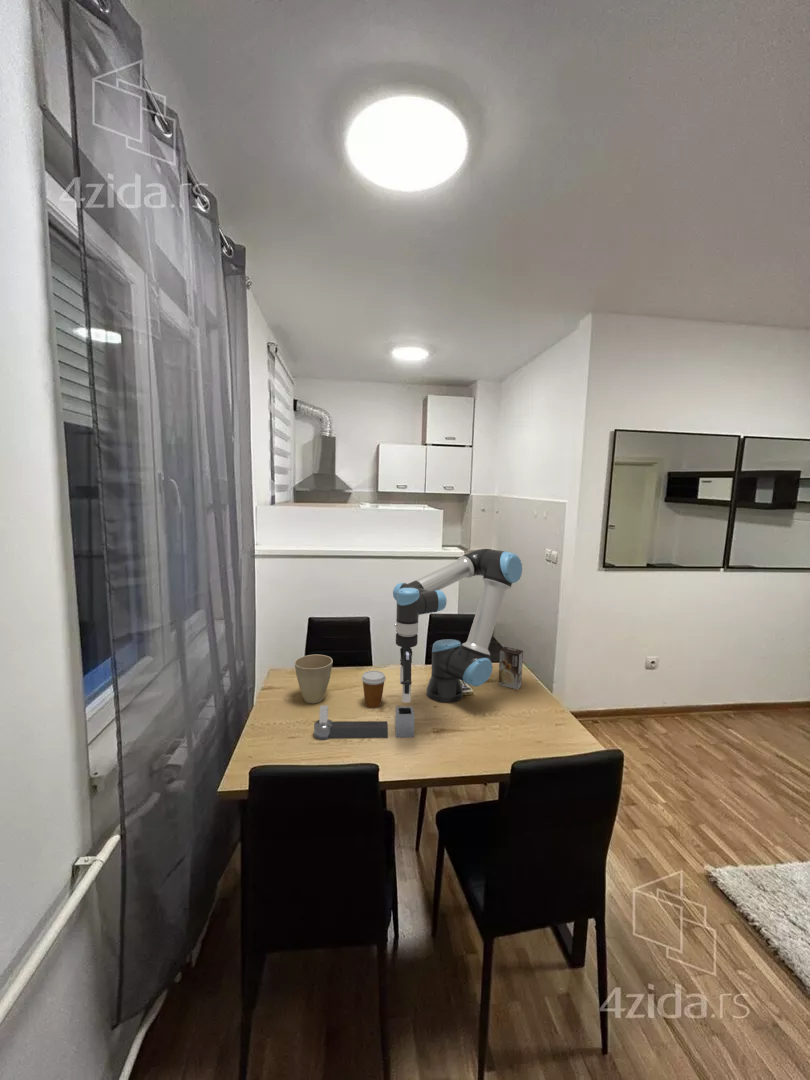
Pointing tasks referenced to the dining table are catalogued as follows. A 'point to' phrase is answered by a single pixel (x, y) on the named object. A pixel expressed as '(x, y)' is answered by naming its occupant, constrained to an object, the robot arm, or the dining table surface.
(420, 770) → the dining table surface
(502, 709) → the dining table surface
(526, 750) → the dining table surface
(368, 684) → the disposable coffee cup
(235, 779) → the dining table surface
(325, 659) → the plant pot
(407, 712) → the socket
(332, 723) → the ratchet
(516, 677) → the coffee box
